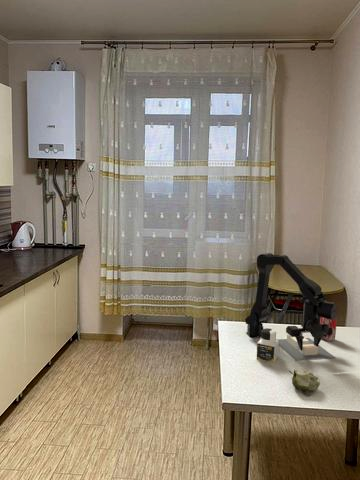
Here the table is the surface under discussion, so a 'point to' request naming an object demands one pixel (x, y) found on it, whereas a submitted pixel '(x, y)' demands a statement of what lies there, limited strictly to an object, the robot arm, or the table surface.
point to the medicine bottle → (267, 345)
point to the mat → (298, 355)
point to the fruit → (305, 381)
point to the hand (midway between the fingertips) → (308, 349)
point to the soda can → (332, 324)
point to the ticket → (295, 341)
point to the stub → (309, 349)
